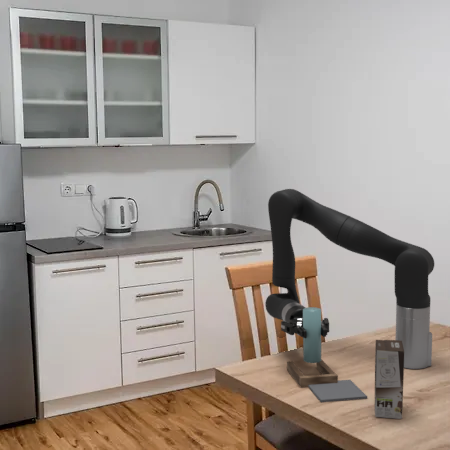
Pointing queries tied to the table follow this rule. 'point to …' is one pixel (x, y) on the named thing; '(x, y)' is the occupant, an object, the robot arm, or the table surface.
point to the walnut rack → (304, 381)
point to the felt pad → (337, 391)
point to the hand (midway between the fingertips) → (315, 333)
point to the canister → (312, 335)
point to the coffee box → (389, 378)
